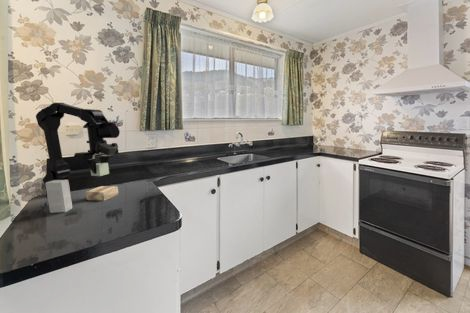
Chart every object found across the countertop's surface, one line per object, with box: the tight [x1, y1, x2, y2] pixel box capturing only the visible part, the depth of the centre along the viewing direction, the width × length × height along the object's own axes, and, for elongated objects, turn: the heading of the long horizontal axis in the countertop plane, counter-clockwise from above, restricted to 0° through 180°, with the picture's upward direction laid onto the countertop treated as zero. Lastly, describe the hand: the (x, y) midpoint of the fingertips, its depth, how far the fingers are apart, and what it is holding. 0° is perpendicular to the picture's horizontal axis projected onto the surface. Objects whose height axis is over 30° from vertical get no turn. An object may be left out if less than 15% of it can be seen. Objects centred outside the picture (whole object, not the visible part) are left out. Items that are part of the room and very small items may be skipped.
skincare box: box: [44, 179, 73, 214], centre depth 88 cm, size 6×4×12 cm
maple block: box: [85, 185, 119, 202], centre depth 105 cm, size 9×9×4 cm
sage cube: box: [90, 162, 110, 177], centre depth 103 cm, size 5×5×5 cm
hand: (100, 172), depth 103 cm, fingers closed on sage cube, 5 cm apart
